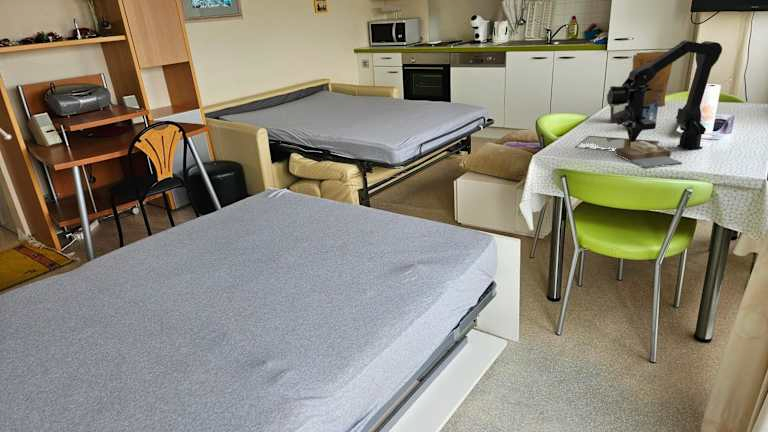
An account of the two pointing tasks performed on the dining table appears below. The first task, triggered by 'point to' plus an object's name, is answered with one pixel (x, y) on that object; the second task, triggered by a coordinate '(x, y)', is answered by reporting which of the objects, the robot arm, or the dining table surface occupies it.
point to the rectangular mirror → (611, 142)
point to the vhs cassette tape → (651, 112)
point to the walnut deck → (641, 153)
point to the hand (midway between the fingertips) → (631, 142)
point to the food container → (616, 109)
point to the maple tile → (643, 147)
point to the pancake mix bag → (658, 81)
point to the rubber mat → (656, 161)
